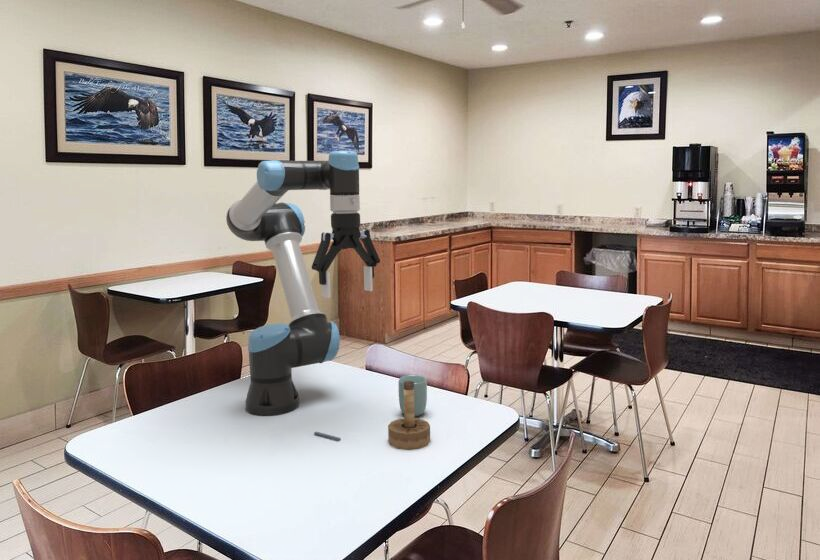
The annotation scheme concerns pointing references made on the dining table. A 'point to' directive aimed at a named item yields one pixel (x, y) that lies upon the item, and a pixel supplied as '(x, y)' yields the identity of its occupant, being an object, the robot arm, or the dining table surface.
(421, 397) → the cup
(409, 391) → the wooden rod
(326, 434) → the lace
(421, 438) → the bead
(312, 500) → the dining table surface
